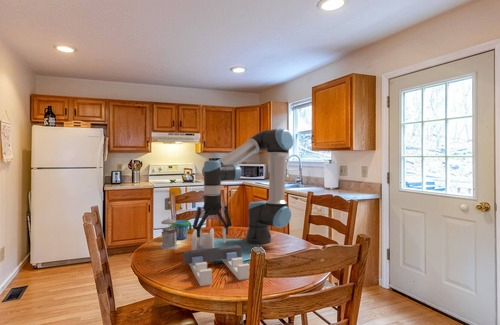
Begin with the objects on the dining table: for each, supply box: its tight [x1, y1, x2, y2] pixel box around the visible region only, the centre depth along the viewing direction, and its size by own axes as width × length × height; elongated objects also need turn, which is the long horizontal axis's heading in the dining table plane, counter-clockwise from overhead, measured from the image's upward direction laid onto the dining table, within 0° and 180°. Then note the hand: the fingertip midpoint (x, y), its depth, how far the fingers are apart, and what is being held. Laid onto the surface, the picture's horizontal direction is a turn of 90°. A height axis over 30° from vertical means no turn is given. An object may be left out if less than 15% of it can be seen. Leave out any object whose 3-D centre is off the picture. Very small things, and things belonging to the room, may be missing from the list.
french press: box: [159, 201, 179, 251], centre depth 163 cm, size 10×12×25 cm
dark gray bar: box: [182, 244, 242, 265], centre depth 136 cm, size 26×4×4 cm, turn 111°
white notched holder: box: [188, 252, 251, 287], centre depth 129 cm, size 20×26×6 cm
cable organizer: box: [190, 228, 215, 250], centre depth 151 cm, size 15×11×12 cm
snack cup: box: [169, 219, 193, 241], centre depth 181 cm, size 16×10×10 cm
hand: (212, 243), depth 136 cm, fingers open, 10 cm apart
